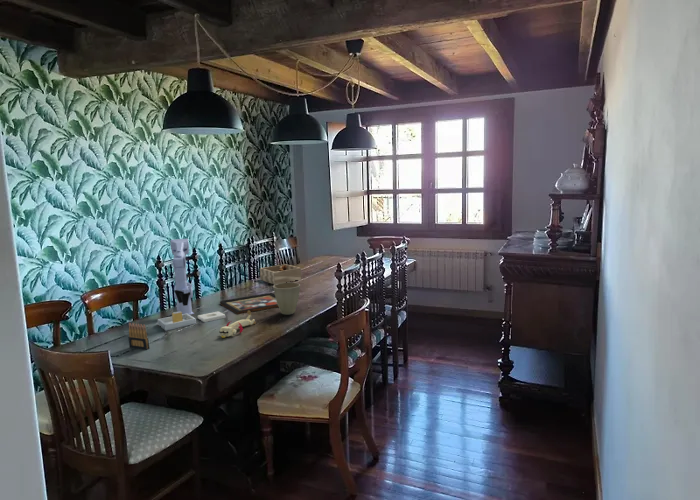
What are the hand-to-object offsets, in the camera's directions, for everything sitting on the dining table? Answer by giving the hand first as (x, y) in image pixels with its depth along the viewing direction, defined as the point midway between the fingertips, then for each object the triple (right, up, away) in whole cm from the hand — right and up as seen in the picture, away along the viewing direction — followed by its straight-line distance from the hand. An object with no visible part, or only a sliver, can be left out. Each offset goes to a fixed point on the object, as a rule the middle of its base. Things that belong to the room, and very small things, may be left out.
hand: (183, 304), depth 260 cm
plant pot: (+56, -6, +11) cm, 57 cm away
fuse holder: (+14, -9, +5) cm, 17 cm away
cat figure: (+34, -12, -18) cm, 40 cm away
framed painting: (+33, -5, +32) cm, 47 cm away
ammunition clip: (-7, -16, -38) cm, 42 cm away
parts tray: (-2, -11, -3) cm, 11 cm away
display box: (+39, +7, +99) cm, 107 cm away
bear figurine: (+40, +6, +96) cm, 104 cm away
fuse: (-2, -10, -3) cm, 10 cm away
